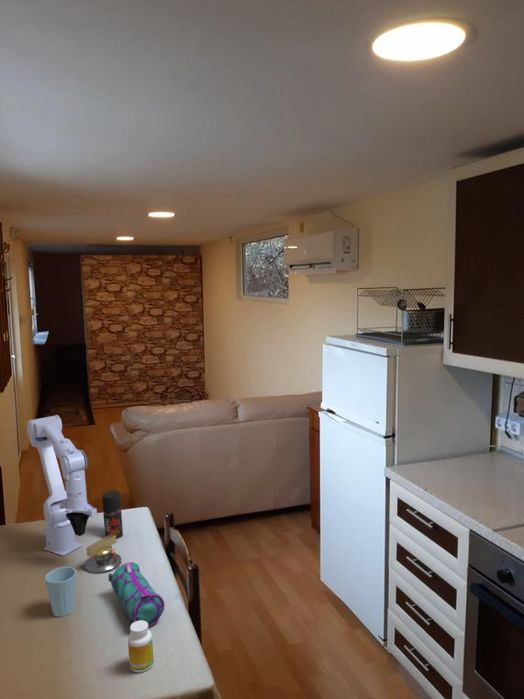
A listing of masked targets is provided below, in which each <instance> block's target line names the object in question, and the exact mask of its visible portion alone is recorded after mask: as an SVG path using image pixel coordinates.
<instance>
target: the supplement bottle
mask: <svg viewBox="0 0 524 699" xmlns="http://www.w3.org/2000/svg"><path fill="white" fill-rule="evenodd" d="M129 631H130V632H129V635H128V637H127V649H128V662H129V668H130V670H132V672H135V673H144V672H147V671H148V670H150V669H151V668H152V667H153V665H154V643H153V634H152V632H151V631H150V629H149V628H148V623H147V622H146V621H142V620H140V621H136V622H132V623H131V624H130V627H129ZM146 670H147V671H146Z"/></svg>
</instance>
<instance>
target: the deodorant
mask: <svg viewBox="0 0 524 699" xmlns="http://www.w3.org/2000/svg"><path fill="white" fill-rule="evenodd" d="M101 499H102V510H103V511H102V514H103V524H104V526H103V527H104V538H105V537H106V536H108V535H110V534H114V535H116V540H118V539H120V538H122V537H123V536H124V532H123V518H122V517H123V516H122V502H121V492H120V491H118V490H110V491H105V492H103V493H102V494H101Z"/></svg>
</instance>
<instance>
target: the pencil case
mask: <svg viewBox="0 0 524 699" xmlns="http://www.w3.org/2000/svg"><path fill="white" fill-rule="evenodd" d="M114 570H115V571H114V573H113V574H112V573H108V576H107V577H108V582H110V584H111V587H112V590H113V592H114V594H115V595H116V597H117V598H118V600H119V602H120V603H121V605H122V607H123V609H124V610H125V612H126V613H127V615H128V616H129V618H130V619H131V620H132V623H134V622H136V621H140V620H142V621H146V622H147V623H148V629H149V628H151V627H152V626H154V625H155V624H156V623H157V622H158V621H159V619H160V618H161V617H162V615H163V613H164V610H165V601H164V598H163V597H162V596H161V595H160V594H158V593H156V591H155V590H154V589H153V587H151V584H150V583H149V582H148V580H147V579H146V578H145V576H144V575H143V574H142V573H141V570H140V566H139V564H137V563H135V562H133V561H128V562H125V563H124V564H120V566H119V567H117V568H116V569H114Z"/></svg>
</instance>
